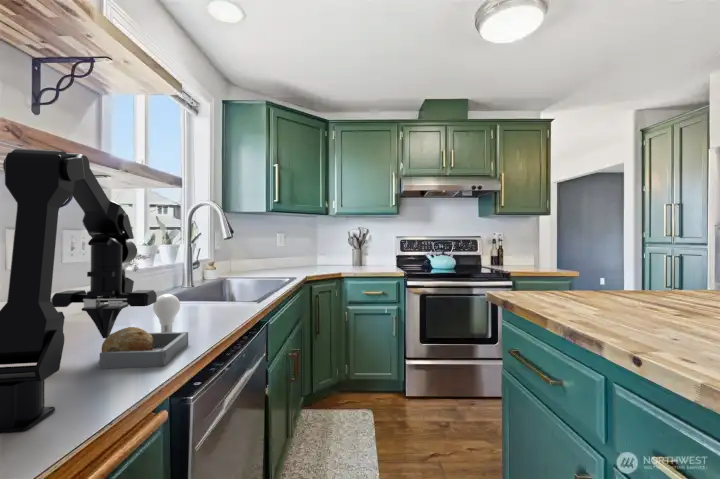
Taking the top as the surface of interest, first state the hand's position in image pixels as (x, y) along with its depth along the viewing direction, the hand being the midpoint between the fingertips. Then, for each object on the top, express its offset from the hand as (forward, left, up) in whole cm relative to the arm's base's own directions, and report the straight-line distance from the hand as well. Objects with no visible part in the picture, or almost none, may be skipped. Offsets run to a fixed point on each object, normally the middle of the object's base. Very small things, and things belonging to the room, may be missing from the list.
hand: (105, 337), depth 84 cm
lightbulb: (+17, -7, -4) cm, 19 cm away
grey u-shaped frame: (0, -9, -4) cm, 10 cm away
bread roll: (0, -5, -4) cm, 6 cm away
